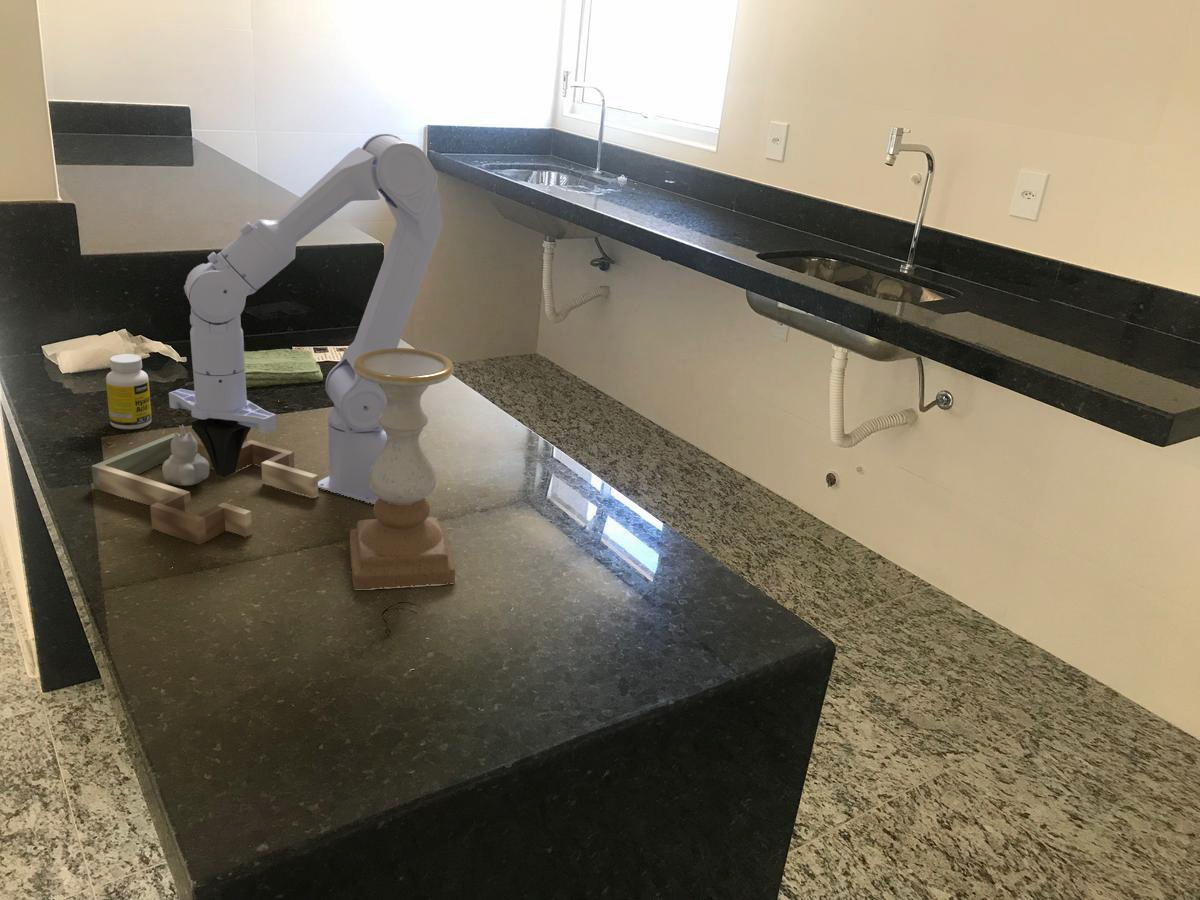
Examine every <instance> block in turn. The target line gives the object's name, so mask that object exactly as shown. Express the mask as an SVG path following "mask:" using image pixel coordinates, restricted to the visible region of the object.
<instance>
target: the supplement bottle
mask: <svg viewBox="0 0 1200 900" xmlns="http://www.w3.org/2000/svg"><path fill="white" fill-rule="evenodd" d="M142 360H143V359H142V357H141V356H140V355H137V354H132V353H122V354H116V355H113V356H111V357H110V358H109V364H110V370H111V371H110V372H108V373H107V375H106V377H105V383H106V384H105V385H106V386H105V387H106V397H107V405H108V416H109V423H110V425H111V426H112V427H113V428H116V429H119V430H137V429H142V428H145V427H148V426H149V425H150V424H151V423H152V420H153V419H152V408H151V407H152V406H151V393H150V381H149V380H150V379H149V376H148V374H147V372H145V370H142V368H143V361H142Z"/></svg>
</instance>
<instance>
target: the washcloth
mask: <svg viewBox="0 0 1200 900" xmlns="http://www.w3.org/2000/svg"><path fill="white" fill-rule="evenodd" d="M244 359H245V376H246V388H252V387H267V386H279V385H289V384H302V383H309V384H310V383H319V382H320V381H323V380H324V377H323V376H324V375H323V372H322V371H321V366H320V364H318V362H317V359H316V358H314V356H313V351H309V350H306V349H290V348H280V349H279V348H278V349H270V350H269V349H267V350H266V349H265V350H258V351H244Z"/></svg>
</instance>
